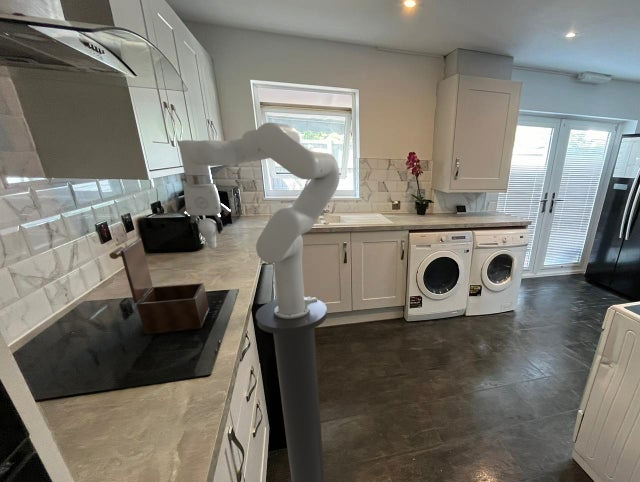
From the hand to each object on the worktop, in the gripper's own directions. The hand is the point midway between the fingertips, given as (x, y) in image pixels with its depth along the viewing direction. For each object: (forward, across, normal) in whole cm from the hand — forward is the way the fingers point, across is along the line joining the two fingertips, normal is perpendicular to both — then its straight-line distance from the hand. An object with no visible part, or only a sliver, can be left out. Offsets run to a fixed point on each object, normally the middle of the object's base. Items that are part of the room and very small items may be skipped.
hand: (209, 232), depth 115 cm
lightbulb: (+6, 0, 0) cm, 6 cm away
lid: (+8, -18, -13) cm, 24 cm away
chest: (+27, -11, -13) cm, 32 cm away
